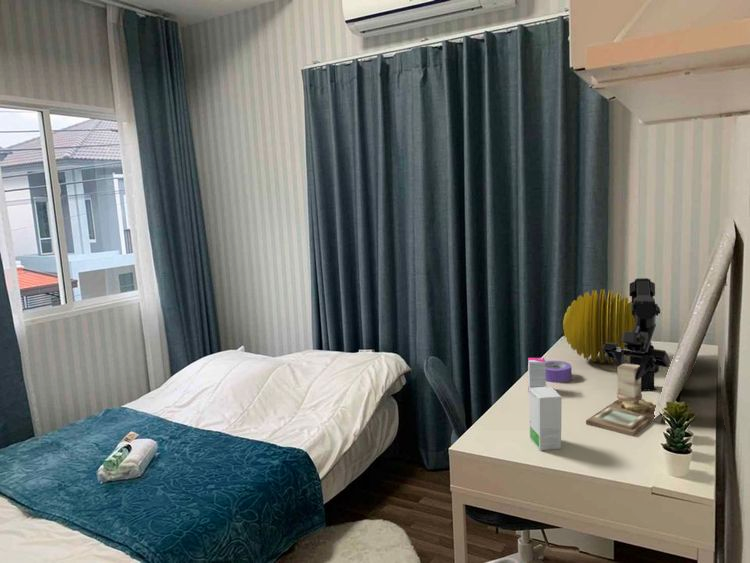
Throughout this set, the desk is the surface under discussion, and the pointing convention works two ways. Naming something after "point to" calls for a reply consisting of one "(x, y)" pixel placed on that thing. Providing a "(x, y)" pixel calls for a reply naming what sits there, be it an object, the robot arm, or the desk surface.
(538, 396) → the skincare box
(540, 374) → the supplement box
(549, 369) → the tape roll
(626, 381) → the marble stone block
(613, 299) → the lamp
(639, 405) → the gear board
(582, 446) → the desk surface
